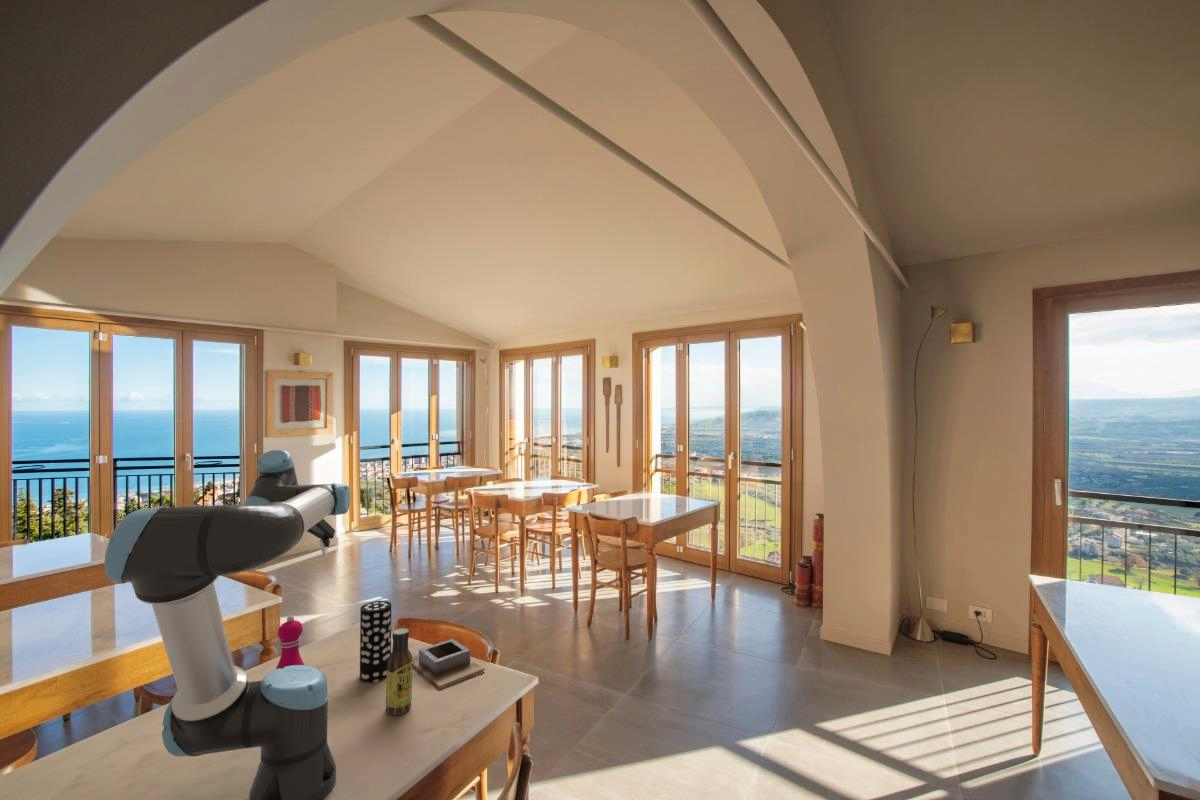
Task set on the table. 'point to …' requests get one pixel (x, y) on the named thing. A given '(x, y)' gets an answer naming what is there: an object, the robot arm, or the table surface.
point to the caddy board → (448, 673)
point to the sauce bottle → (399, 674)
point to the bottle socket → (444, 657)
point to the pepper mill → (290, 643)
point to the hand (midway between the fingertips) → (299, 555)
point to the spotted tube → (375, 640)
